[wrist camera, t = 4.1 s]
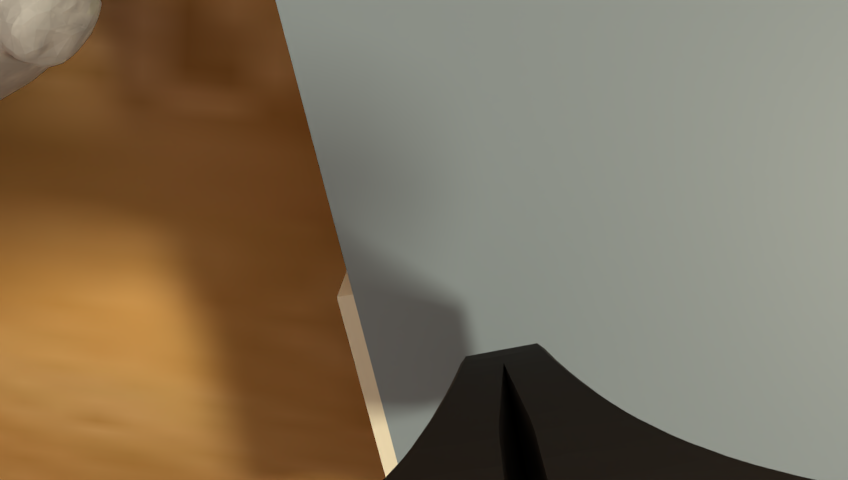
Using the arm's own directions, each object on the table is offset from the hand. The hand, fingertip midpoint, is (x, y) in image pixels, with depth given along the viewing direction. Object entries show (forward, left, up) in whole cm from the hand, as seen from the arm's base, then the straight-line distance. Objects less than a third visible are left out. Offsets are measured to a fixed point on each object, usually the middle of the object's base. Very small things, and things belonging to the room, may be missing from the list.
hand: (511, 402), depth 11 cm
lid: (0, -3, -5) cm, 5 cm away
